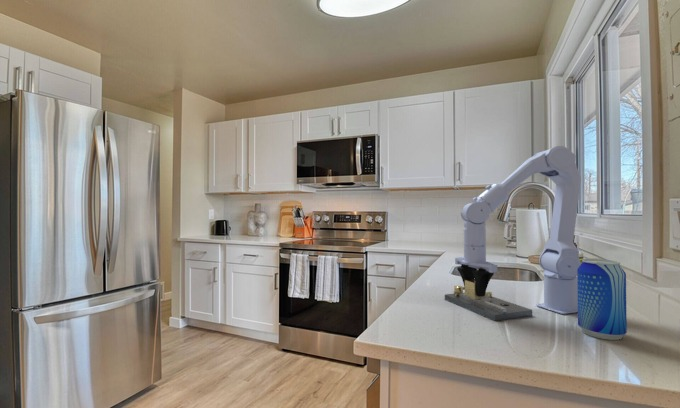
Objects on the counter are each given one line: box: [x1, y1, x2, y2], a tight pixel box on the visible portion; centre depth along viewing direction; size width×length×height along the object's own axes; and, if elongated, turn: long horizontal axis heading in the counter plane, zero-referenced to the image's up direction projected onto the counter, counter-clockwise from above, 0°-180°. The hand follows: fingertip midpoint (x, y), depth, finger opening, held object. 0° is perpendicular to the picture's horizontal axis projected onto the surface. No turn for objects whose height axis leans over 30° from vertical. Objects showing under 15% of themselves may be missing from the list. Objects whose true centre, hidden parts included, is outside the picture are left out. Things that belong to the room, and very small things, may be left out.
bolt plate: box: [444, 285, 533, 322], centre depth 92 cm, size 12×20×4 cm, turn 18°
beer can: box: [576, 258, 628, 341], centre depth 73 cm, size 8×8×16 cm
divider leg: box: [464, 278, 493, 299], centre depth 93 cm, size 8×4×5 cm, turn 108°
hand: (474, 293), depth 92 cm, fingers closed on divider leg, 4 cm apart
